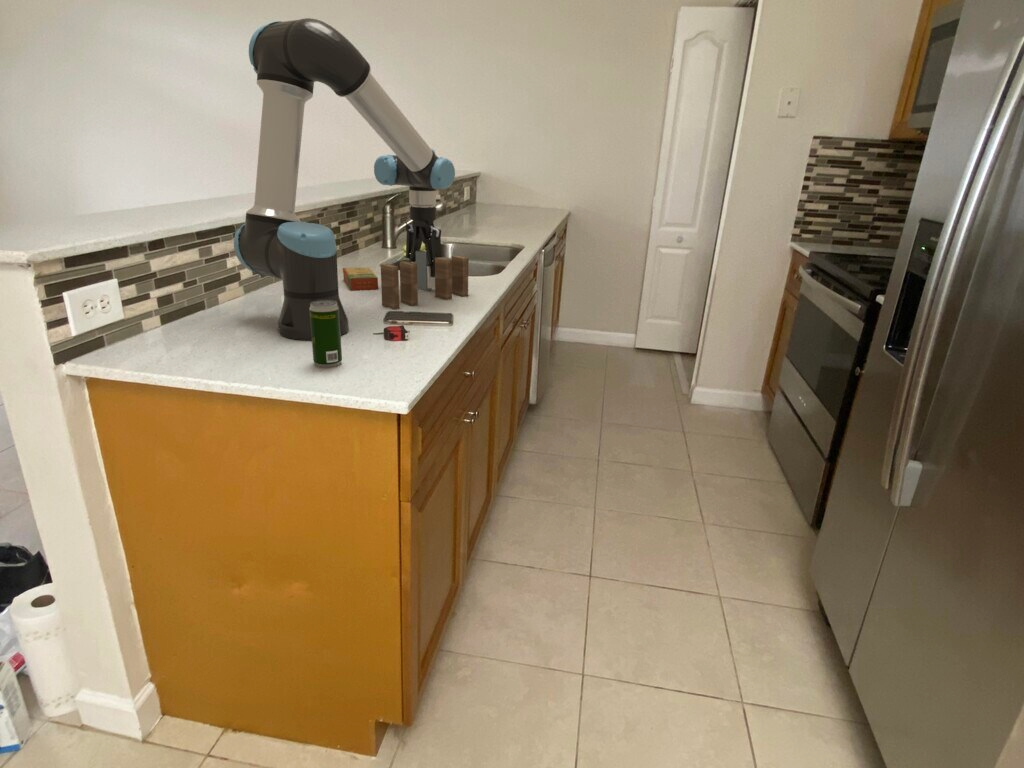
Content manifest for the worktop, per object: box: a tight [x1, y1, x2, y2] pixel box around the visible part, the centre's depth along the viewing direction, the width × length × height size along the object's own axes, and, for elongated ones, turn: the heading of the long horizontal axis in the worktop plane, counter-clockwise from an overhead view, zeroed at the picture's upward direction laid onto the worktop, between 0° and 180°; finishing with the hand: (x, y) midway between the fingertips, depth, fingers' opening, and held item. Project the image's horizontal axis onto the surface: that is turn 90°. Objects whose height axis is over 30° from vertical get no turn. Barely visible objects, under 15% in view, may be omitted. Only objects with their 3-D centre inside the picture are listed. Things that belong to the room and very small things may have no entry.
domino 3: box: [416, 249, 433, 291], centre depth 184 cm, size 2×5×11 cm, turn 45°
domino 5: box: [451, 255, 469, 298], centre depth 179 cm, size 2×5×11 cm, turn 45°
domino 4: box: [434, 256, 453, 301], centre depth 175 cm, size 2×5×11 cm, turn 45°
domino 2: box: [399, 260, 419, 307], centre depth 167 cm, size 2×5×11 cm, turn 45°
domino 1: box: [380, 263, 400, 310], centre depth 163 cm, size 2×5×11 cm, turn 45°
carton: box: [342, 266, 379, 292], centre depth 188 cm, size 8×16×4 cm, turn 21°
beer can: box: [309, 300, 343, 369], centre depth 119 cm, size 5×5×12 cm
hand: (423, 285), depth 186 cm, fingers open, 7 cm apart
